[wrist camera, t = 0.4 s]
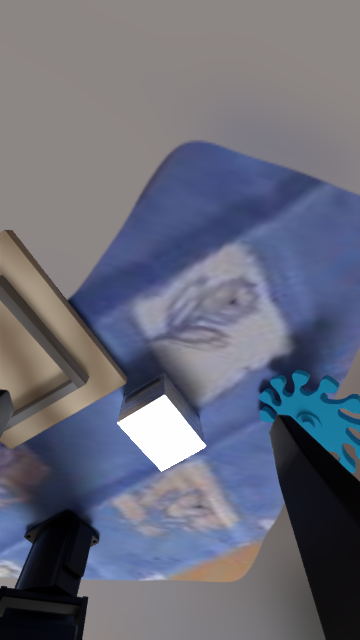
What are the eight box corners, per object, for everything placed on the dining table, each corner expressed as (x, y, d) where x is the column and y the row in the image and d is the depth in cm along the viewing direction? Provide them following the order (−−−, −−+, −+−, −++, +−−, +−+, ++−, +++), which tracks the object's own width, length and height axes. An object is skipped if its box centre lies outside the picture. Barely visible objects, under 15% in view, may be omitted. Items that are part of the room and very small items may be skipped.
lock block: (162, 439, 27) (162, 472, 24) (122, 394, 25) (116, 422, 21) (200, 418, 27) (206, 447, 23) (163, 369, 25) (163, 393, 21)
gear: (272, 356, 23) (405, 421, 17) (292, 338, 27) (404, 385, 22) (243, 437, 28) (340, 507, 22) (264, 410, 32) (350, 464, 26)
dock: (15, 442, 26) (3, 460, 24) (-119, 319, 21) (-150, 328, 19) (127, 378, 24) (124, 391, 22) (12, 230, 19) (-6, 229, 17)
